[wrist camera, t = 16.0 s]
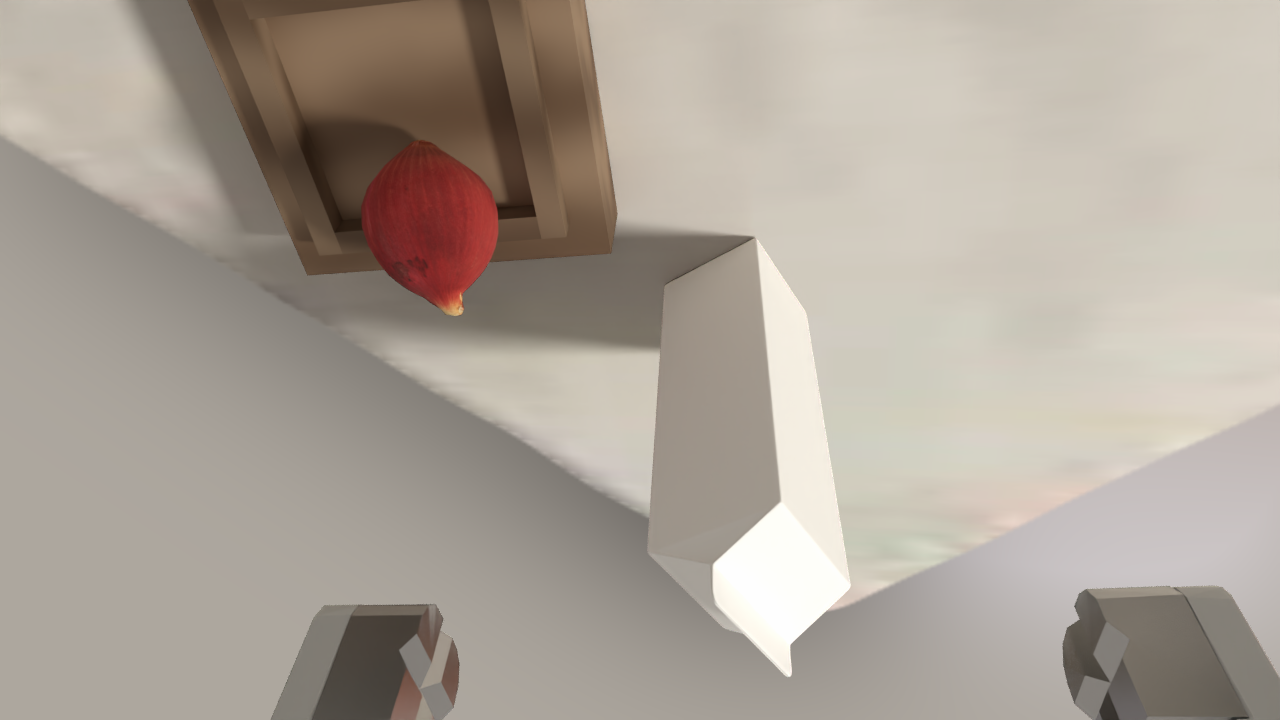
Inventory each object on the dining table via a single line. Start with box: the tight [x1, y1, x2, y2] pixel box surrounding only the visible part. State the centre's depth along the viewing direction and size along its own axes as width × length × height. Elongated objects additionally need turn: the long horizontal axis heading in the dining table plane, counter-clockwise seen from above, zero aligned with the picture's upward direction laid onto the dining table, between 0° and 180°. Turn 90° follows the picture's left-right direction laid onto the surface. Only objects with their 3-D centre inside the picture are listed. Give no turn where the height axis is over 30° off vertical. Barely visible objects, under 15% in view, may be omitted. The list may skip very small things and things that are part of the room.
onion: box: [361, 140, 498, 316], centre depth 37 cm, size 6×6×8 cm
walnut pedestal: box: [188, 0, 617, 275], centre depth 39 cm, size 16×16×5 cm
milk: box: [647, 238, 850, 677], centre depth 39 cm, size 6×6×22 cm
